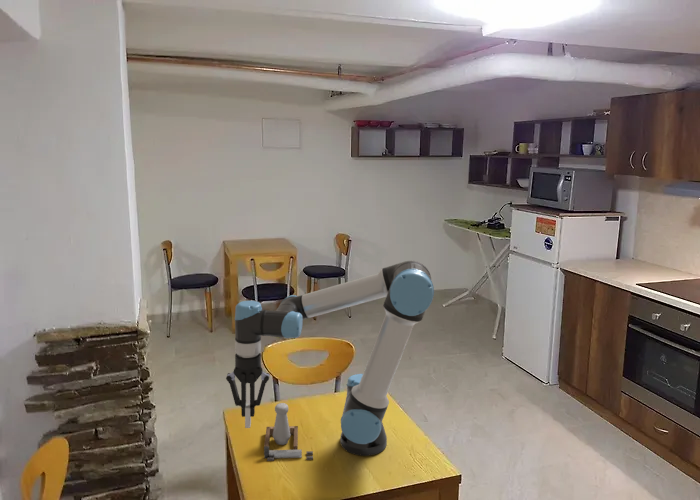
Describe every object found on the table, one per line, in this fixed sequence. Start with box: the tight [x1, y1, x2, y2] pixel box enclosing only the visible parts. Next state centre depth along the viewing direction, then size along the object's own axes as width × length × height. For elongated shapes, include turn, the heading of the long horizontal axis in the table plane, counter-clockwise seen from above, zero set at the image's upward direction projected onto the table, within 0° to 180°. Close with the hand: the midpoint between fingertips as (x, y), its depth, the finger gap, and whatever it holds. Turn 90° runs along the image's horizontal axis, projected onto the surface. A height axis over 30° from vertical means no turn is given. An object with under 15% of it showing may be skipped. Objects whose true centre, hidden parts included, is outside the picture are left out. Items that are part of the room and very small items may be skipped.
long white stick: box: [263, 445, 303, 459], centre depth 168 cm, size 12×1×3 cm, turn 95°
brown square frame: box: [263, 425, 314, 462], centre depth 175 cm, size 15×16×2 cm
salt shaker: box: [272, 402, 292, 446], centre depth 176 cm, size 6×6×13 cm
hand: (248, 425), depth 166 cm, fingers closed
